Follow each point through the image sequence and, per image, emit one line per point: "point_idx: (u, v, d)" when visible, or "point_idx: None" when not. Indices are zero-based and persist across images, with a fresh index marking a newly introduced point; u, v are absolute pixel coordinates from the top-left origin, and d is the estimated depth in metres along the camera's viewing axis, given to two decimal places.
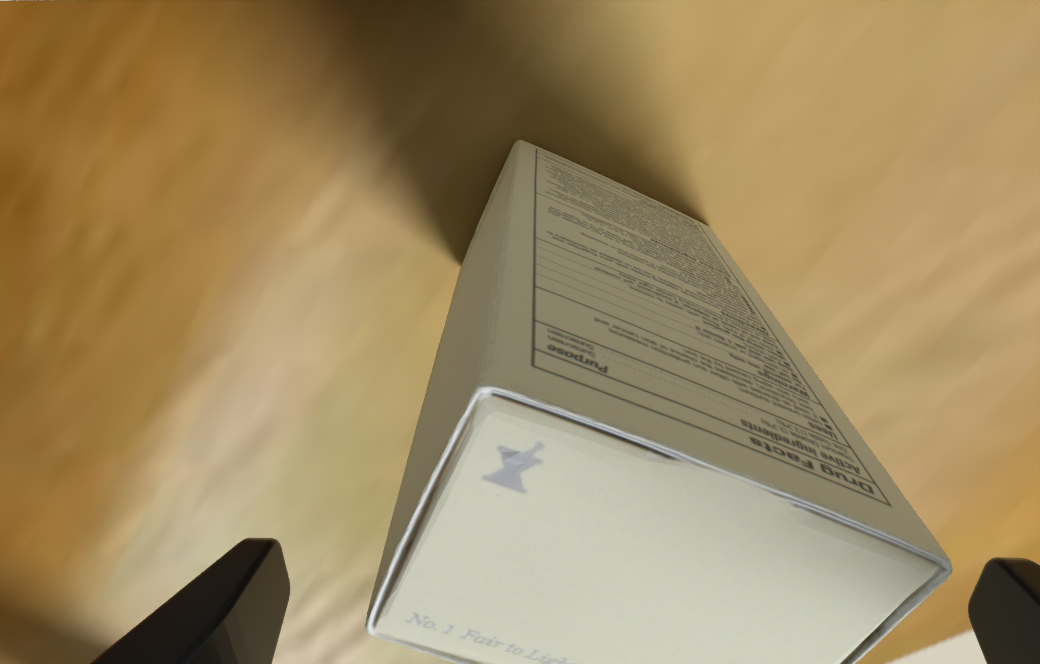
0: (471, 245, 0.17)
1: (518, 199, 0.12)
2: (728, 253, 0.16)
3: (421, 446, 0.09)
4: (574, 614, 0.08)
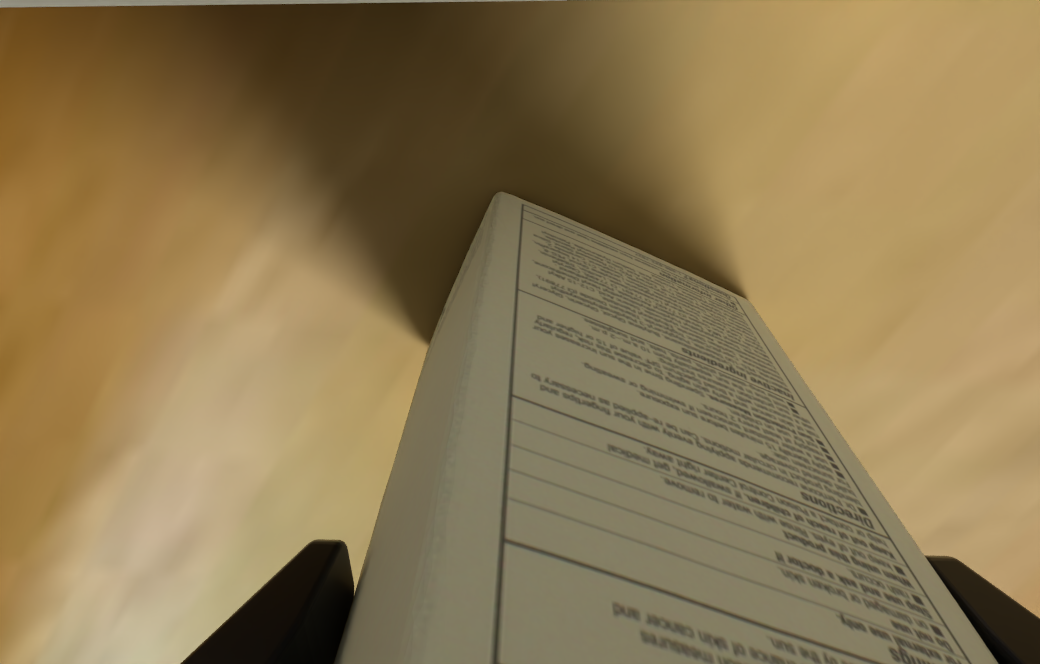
0: (437, 331, 0.13)
1: (489, 310, 0.08)
2: (780, 347, 0.12)
3: None
4: None
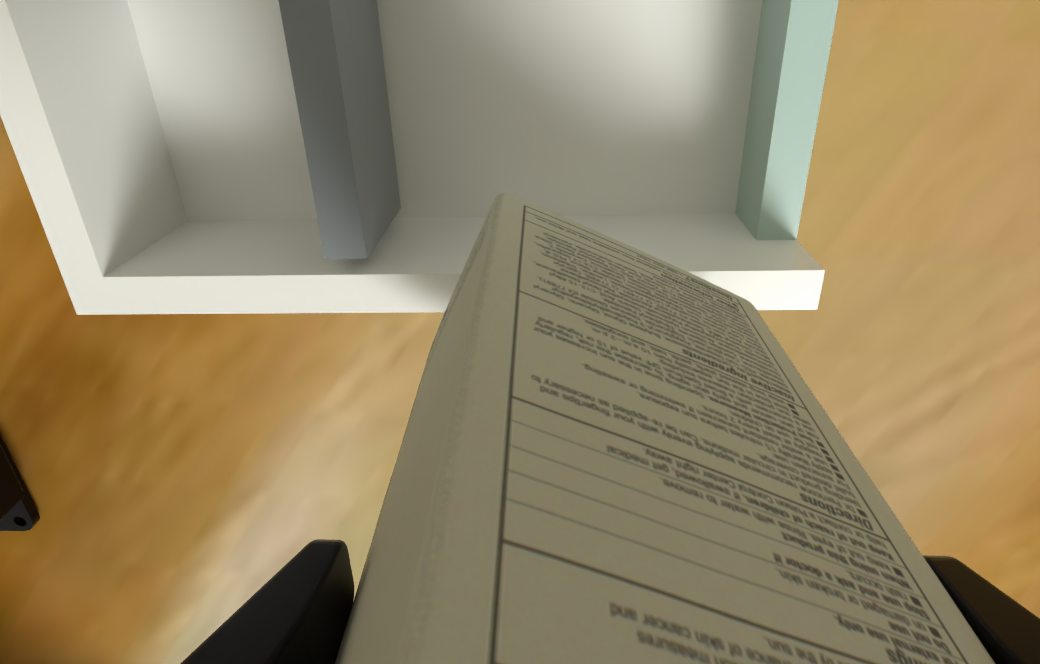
0: (439, 331, 0.13)
1: (490, 312, 0.08)
2: (781, 348, 0.12)
3: None
4: None
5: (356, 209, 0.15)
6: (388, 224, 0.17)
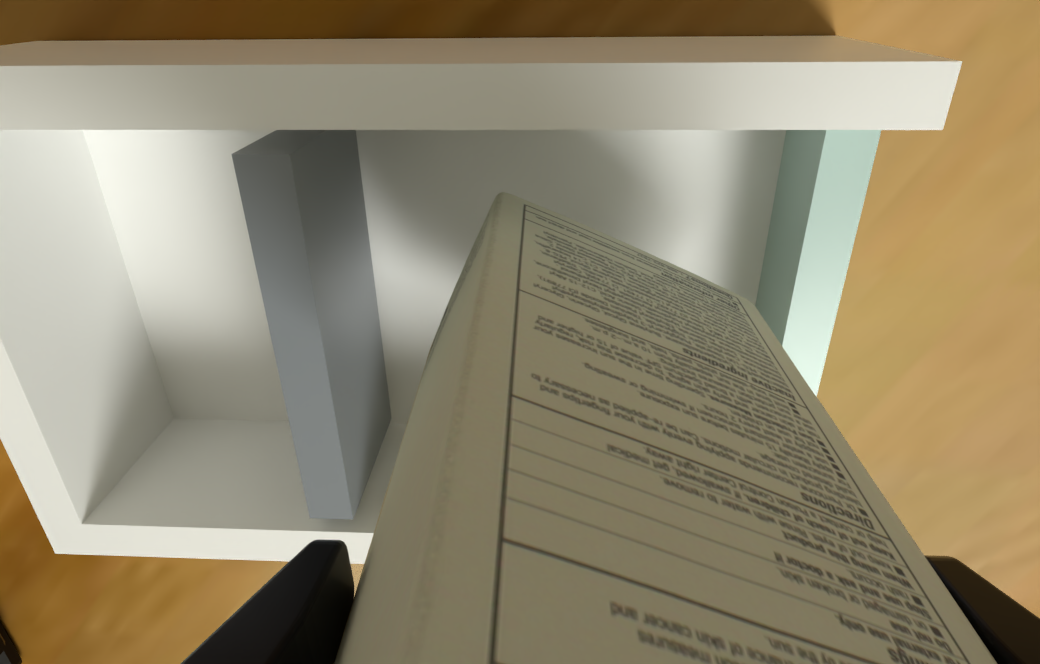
0: (439, 330, 0.13)
1: (490, 310, 0.08)
2: (781, 347, 0.12)
3: None
4: None
5: (343, 479, 0.14)
6: (377, 453, 0.17)
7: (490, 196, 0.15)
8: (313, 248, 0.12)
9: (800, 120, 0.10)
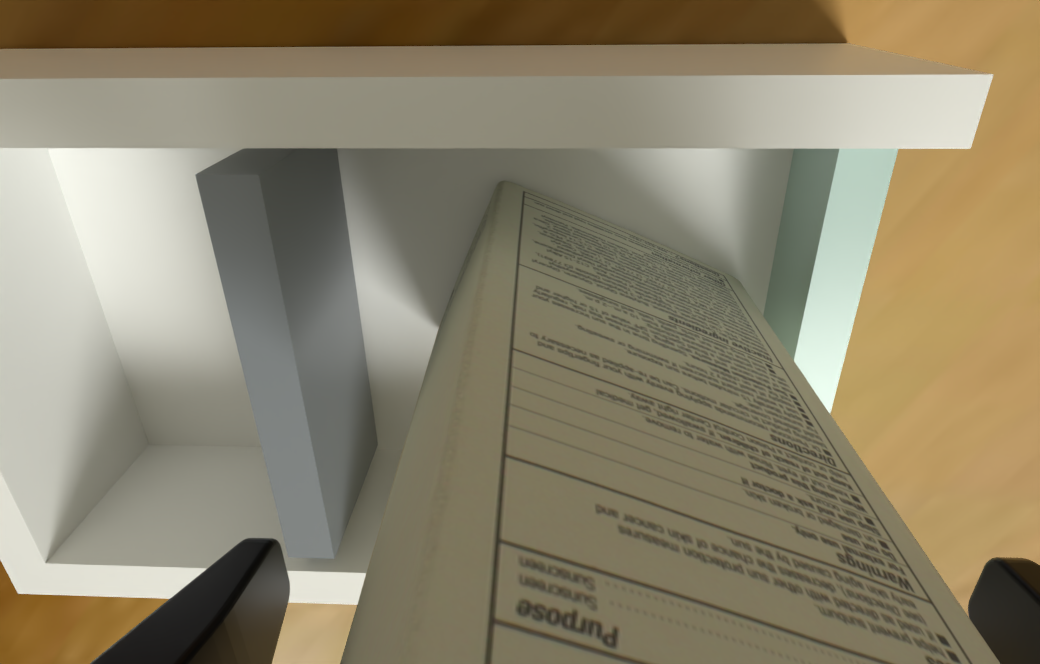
0: (447, 310, 0.14)
1: (493, 281, 0.09)
2: (763, 318, 0.13)
3: None
4: None
5: (323, 517, 0.13)
6: (362, 484, 0.16)
7: (480, 213, 0.15)
8: (286, 275, 0.11)
9: (814, 138, 0.09)
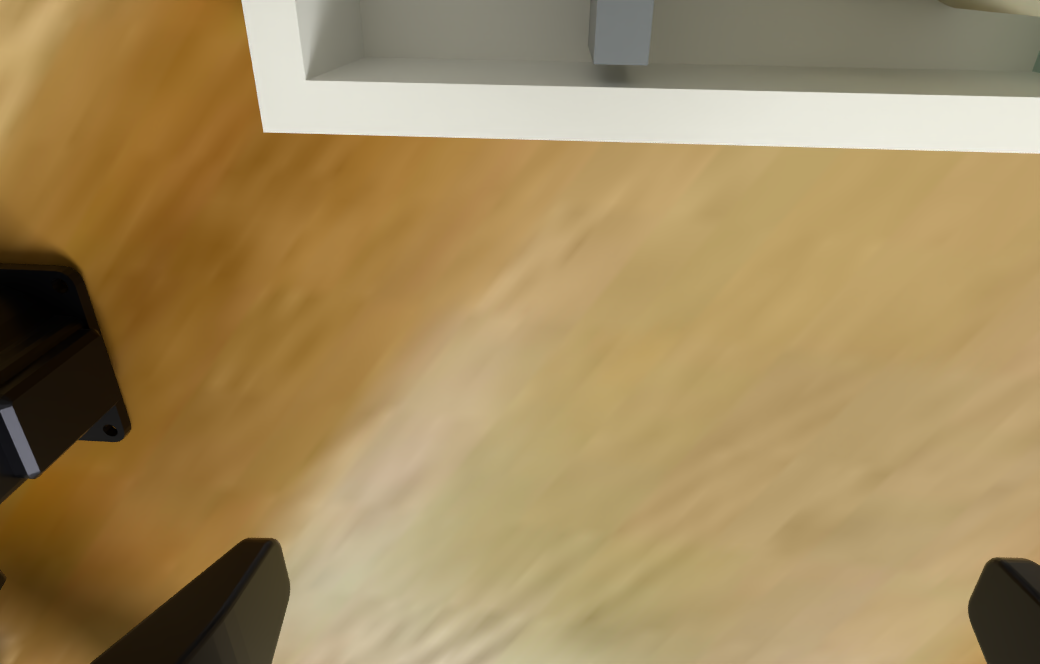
0: None
1: None
2: None
3: None
4: None
5: None
6: None
7: None
8: None
9: None
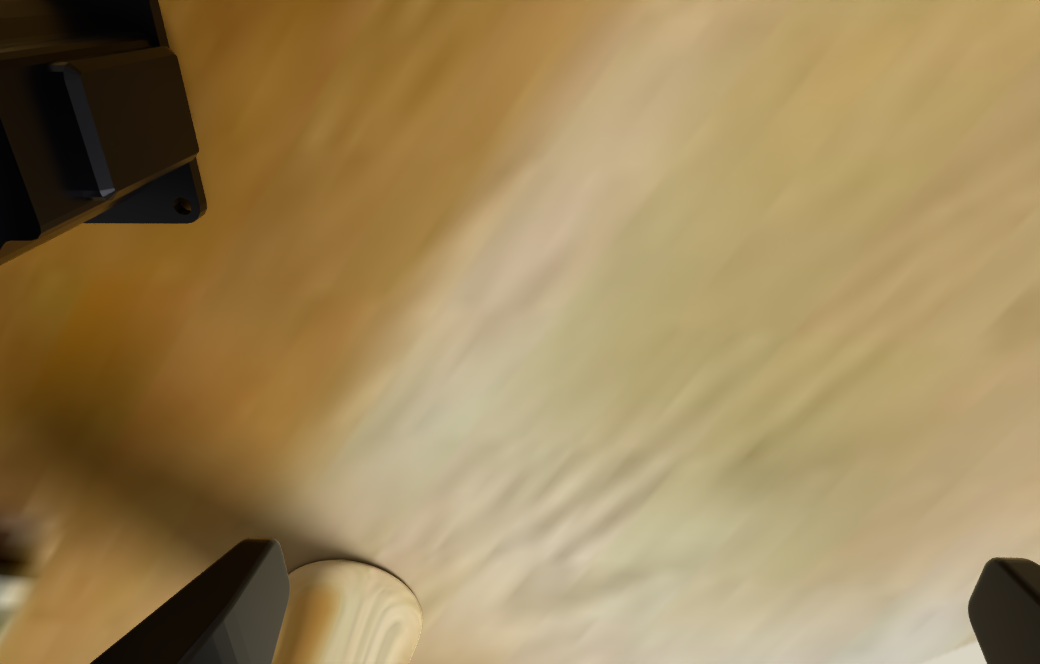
0: None
1: None
2: None
3: None
4: None
5: None
6: None
7: None
8: None
9: None
